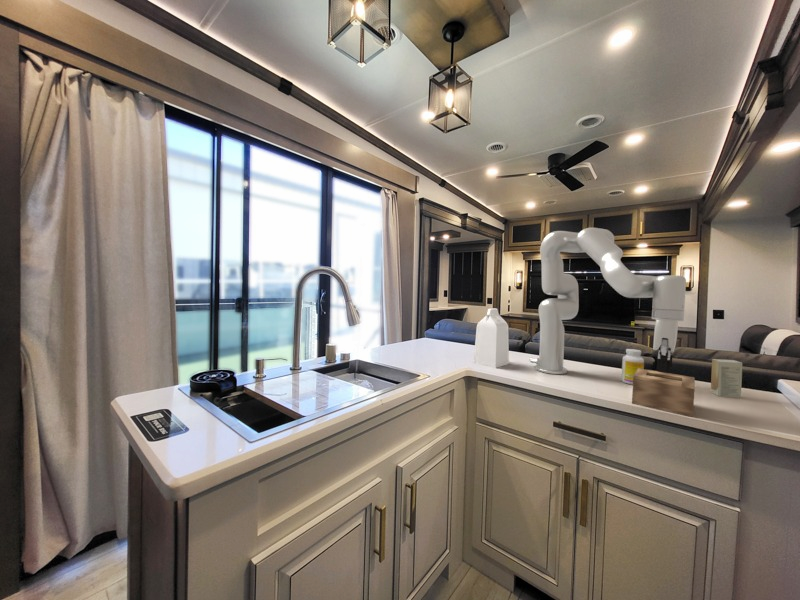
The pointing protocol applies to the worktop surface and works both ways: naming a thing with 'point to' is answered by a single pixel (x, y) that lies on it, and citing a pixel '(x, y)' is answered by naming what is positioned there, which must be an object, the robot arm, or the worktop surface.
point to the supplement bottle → (631, 365)
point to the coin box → (664, 391)
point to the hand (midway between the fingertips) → (664, 369)
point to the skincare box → (726, 378)
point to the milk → (492, 341)
